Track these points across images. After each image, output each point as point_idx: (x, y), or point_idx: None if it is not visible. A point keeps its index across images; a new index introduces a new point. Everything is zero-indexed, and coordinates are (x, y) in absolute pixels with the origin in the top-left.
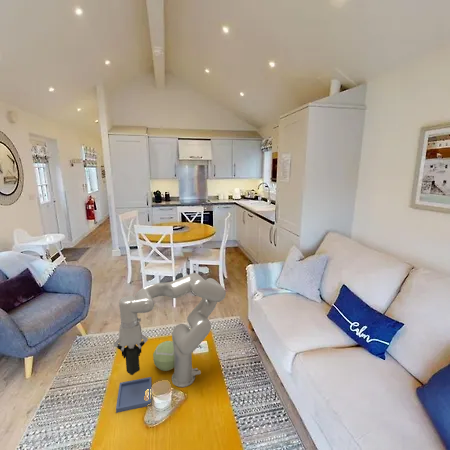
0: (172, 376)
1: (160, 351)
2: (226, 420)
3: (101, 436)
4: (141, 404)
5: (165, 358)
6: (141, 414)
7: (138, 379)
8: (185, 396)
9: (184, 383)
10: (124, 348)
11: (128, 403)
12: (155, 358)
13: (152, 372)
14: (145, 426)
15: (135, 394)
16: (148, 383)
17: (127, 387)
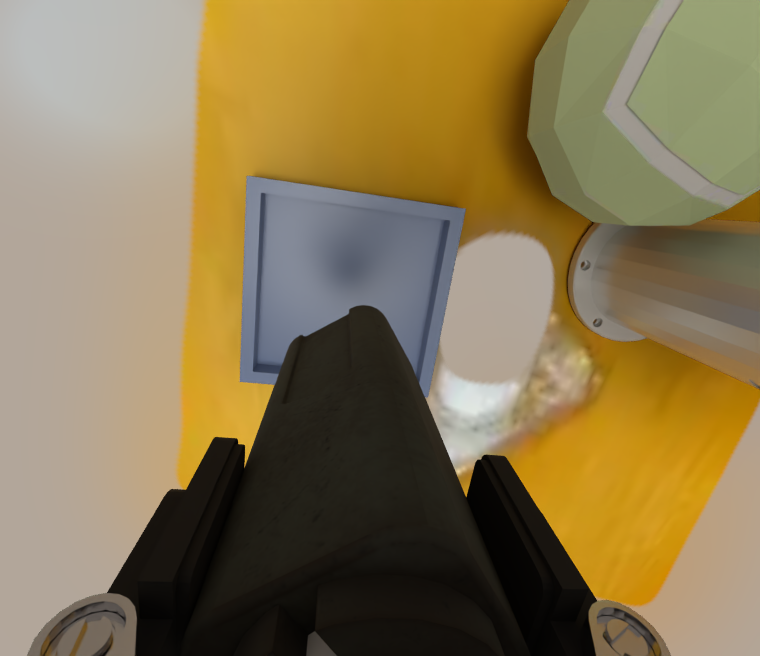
0: (587, 246)
1: (672, 128)
2: (672, 537)
3: (191, 464)
4: None
5: (655, 208)
6: None
7: (378, 197)
8: (589, 391)
9: (624, 328)
10: (168, 653)
11: None
12: (569, 137)
13: (479, 131)
14: None
15: (349, 296)
16: (435, 237)
17: (302, 219)
